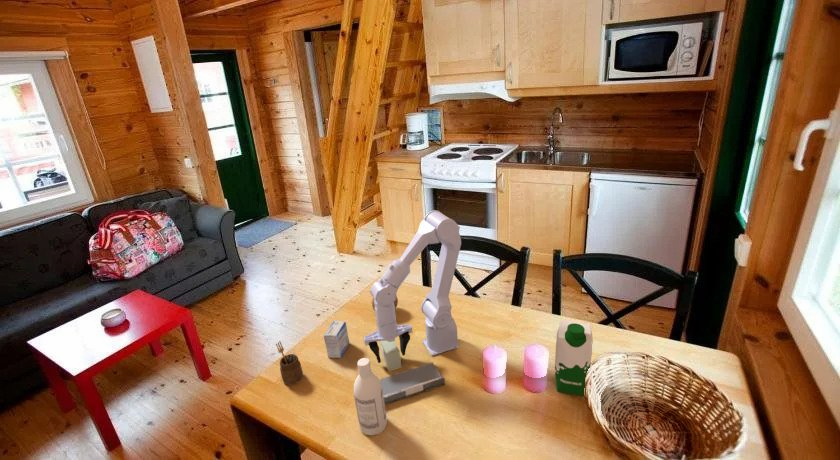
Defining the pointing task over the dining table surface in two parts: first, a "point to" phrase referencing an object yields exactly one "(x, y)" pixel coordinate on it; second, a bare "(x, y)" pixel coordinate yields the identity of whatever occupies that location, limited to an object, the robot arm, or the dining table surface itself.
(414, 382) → the shelf board
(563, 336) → the milk carton
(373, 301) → the onion
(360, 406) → the bath foam
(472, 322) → the dining table surface
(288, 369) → the utensil holder
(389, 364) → the carton
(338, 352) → the medicine box
